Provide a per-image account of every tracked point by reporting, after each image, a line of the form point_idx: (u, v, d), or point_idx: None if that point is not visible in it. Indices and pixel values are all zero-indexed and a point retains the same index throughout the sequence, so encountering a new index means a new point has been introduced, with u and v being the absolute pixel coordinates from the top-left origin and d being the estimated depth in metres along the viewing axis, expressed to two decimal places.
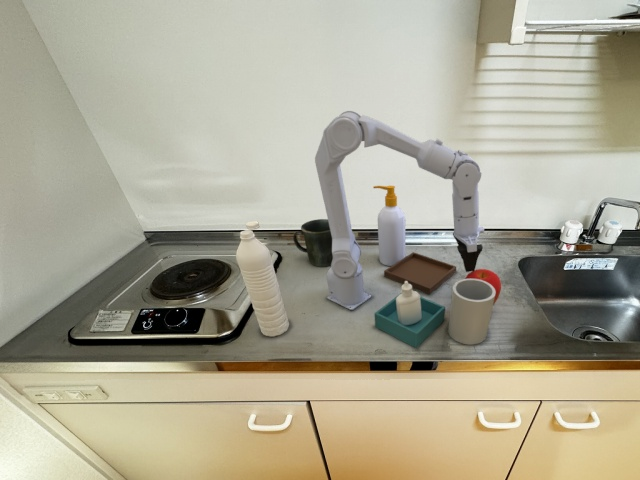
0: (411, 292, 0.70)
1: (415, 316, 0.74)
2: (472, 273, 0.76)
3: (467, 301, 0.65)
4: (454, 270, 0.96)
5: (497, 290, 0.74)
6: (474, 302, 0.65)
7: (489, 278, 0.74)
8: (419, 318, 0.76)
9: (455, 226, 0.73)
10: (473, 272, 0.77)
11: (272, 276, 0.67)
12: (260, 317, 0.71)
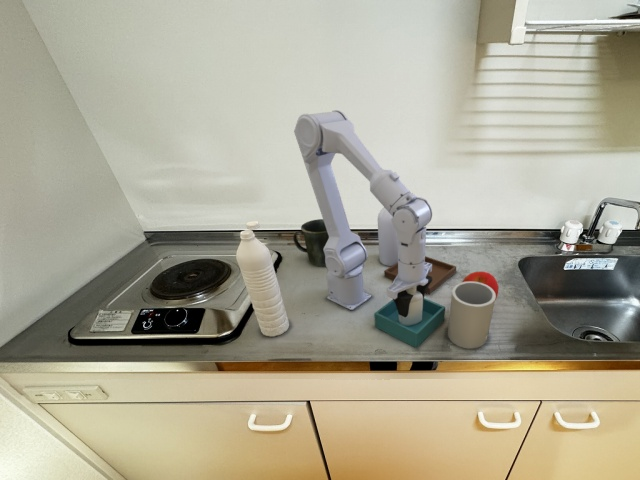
0: (415, 290, 0.71)
1: (416, 317, 0.75)
2: None
3: (463, 305, 0.64)
4: (454, 270, 0.96)
5: (497, 290, 0.74)
6: (470, 306, 0.64)
7: (488, 282, 0.73)
8: (419, 319, 0.76)
9: None
10: (469, 279, 0.74)
11: (272, 276, 0.67)
12: (260, 317, 0.71)
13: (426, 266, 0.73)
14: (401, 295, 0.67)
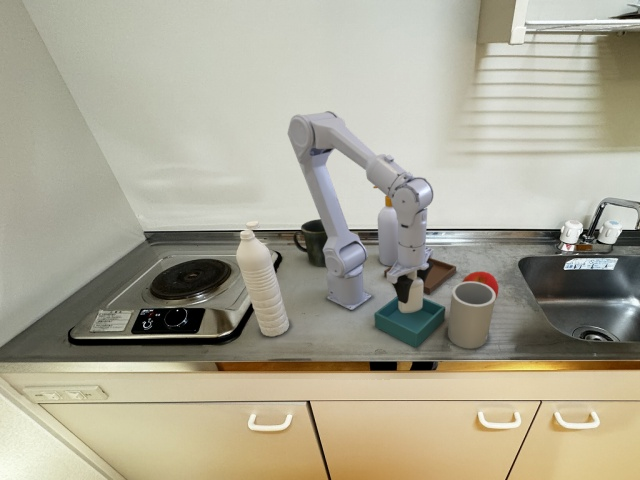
0: (415, 276, 0.69)
1: (417, 303, 0.73)
2: None
3: (463, 305, 0.64)
4: (454, 270, 0.96)
5: (497, 290, 0.74)
6: (470, 306, 0.64)
7: (487, 282, 0.73)
8: (420, 307, 0.74)
9: None
10: (469, 279, 0.74)
11: (272, 276, 0.67)
12: (260, 317, 0.71)
13: (427, 251, 0.71)
14: (401, 280, 0.65)
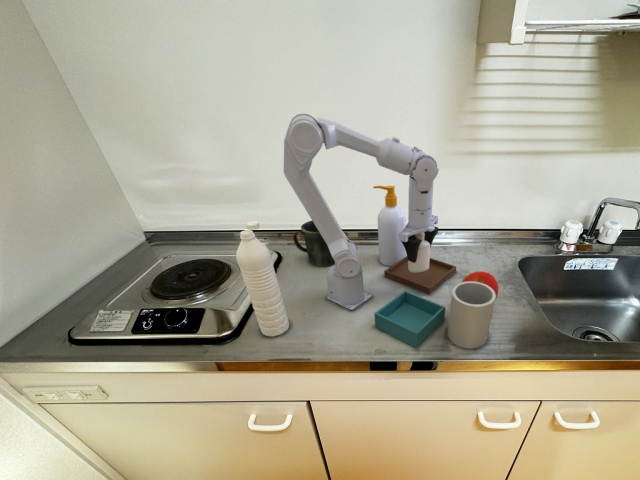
0: (423, 238, 0.80)
1: (424, 264, 0.84)
2: (468, 280, 0.74)
3: (463, 305, 0.64)
4: (454, 270, 0.96)
5: (497, 290, 0.74)
6: (470, 306, 0.64)
7: (487, 282, 0.73)
8: (427, 267, 0.85)
9: None
10: (469, 279, 0.74)
11: (272, 276, 0.67)
12: (260, 317, 0.71)
13: (433, 218, 0.82)
14: (411, 239, 0.76)
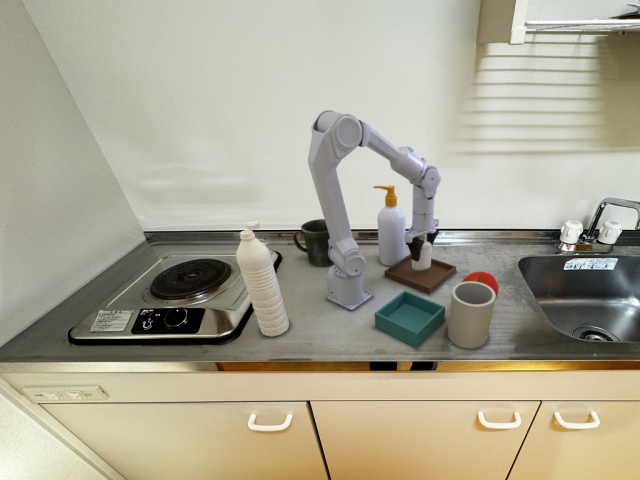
0: (425, 239, 0.89)
1: (426, 262, 0.93)
2: (468, 280, 0.74)
3: (463, 305, 0.64)
4: (454, 270, 0.96)
5: (497, 290, 0.74)
6: (470, 306, 0.64)
7: (487, 282, 0.73)
8: (429, 265, 0.94)
9: None
10: (468, 279, 0.75)
11: (272, 276, 0.67)
12: (260, 317, 0.71)
13: (434, 221, 0.91)
14: (415, 241, 0.85)
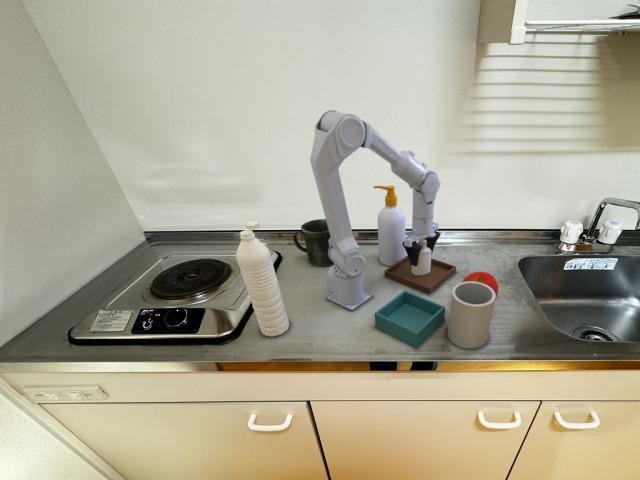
0: (425, 245, 0.90)
1: (426, 268, 0.94)
2: (468, 280, 0.74)
3: (463, 305, 0.64)
4: (454, 270, 0.96)
5: (497, 290, 0.74)
6: (470, 306, 0.64)
7: (487, 282, 0.73)
8: (428, 271, 0.95)
9: None
10: (468, 279, 0.75)
11: (272, 276, 0.67)
12: (260, 317, 0.71)
13: (434, 225, 0.92)
14: (413, 246, 0.85)
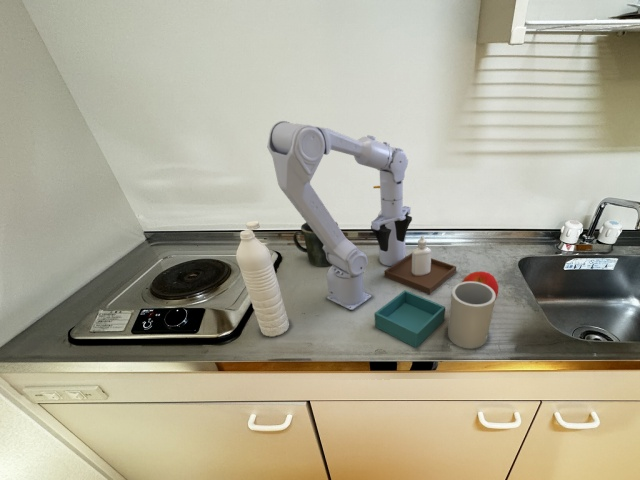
0: (425, 245, 0.90)
1: (426, 268, 0.94)
2: None
3: (463, 305, 0.64)
4: (454, 270, 0.96)
5: (497, 290, 0.74)
6: (470, 306, 0.64)
7: (487, 282, 0.73)
8: (428, 271, 0.95)
9: None
10: (468, 279, 0.75)
11: (272, 276, 0.67)
12: (260, 317, 0.71)
13: (405, 208, 0.88)
14: (381, 229, 0.81)
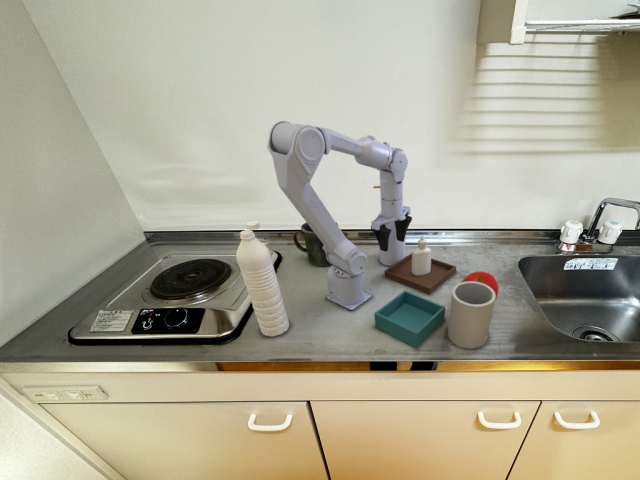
0: (425, 245, 0.90)
1: (426, 268, 0.94)
2: None
3: (463, 305, 0.64)
4: (454, 270, 0.96)
5: (497, 290, 0.74)
6: (470, 306, 0.64)
7: (487, 282, 0.73)
8: (428, 271, 0.95)
9: None
10: (468, 279, 0.75)
11: (272, 276, 0.67)
12: (260, 317, 0.71)
13: (405, 208, 0.88)
14: (381, 229, 0.81)
